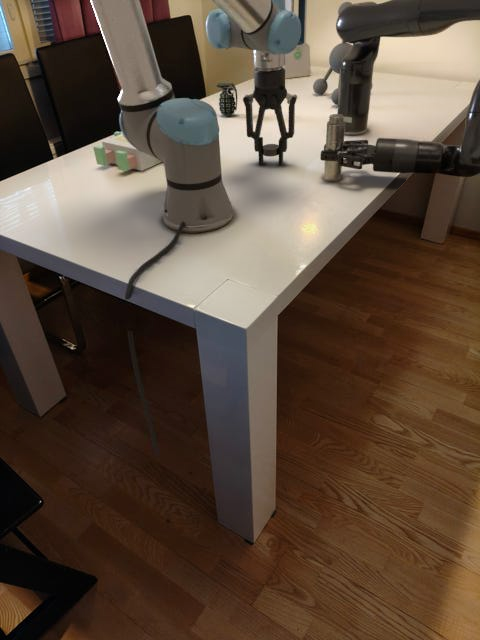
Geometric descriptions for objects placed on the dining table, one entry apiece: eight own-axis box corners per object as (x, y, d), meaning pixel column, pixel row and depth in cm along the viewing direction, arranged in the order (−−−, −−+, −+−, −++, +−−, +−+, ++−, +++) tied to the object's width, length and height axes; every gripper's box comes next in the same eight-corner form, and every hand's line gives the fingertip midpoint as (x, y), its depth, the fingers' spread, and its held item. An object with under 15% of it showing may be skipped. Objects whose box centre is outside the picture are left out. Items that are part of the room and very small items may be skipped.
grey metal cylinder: (328, 173, 124) (332, 112, 115) (343, 176, 122) (349, 114, 112) (320, 179, 121) (324, 117, 112) (335, 182, 119) (340, 119, 110)
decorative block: (148, 117, 149) (198, 126, 139) (151, 138, 153) (200, 148, 143) (82, 141, 133) (133, 153, 123) (87, 165, 137) (138, 178, 127)
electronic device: (283, 78, 209) (284, -5, 191) (278, 75, 215) (278, -6, 197) (310, 75, 212) (314, -8, 193) (304, 72, 217) (307, -9, 199)
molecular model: (389, 100, 175) (402, 0, 156) (335, 109, 169) (342, 6, 150) (354, 87, 192) (362, -4, 174) (304, 94, 186) (307, 1, 168)
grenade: (217, 117, 168) (214, 86, 162) (221, 112, 172) (219, 82, 166) (235, 117, 166) (233, 86, 160) (239, 113, 171) (238, 82, 165)
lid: (259, 152, 131) (258, 145, 130) (275, 149, 132) (275, 142, 131) (266, 157, 127) (266, 151, 126) (282, 154, 128) (282, 148, 127)
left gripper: (229, 71, 116) (235, 167, 130) (304, 70, 112) (302, 169, 126) (236, 65, 121) (241, 157, 136) (308, 63, 118) (305, 159, 132)
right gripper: (399, 130, 117) (328, 127, 121) (396, 150, 106) (318, 146, 111) (394, 160, 121) (326, 157, 126) (391, 183, 111) (316, 178, 115)
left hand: (271, 163), depth 131 cm, fingers closed on lid, 5 cm apart
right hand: (322, 151), depth 118 cm, fingers closed on grey metal cylinder, 4 cm apart
